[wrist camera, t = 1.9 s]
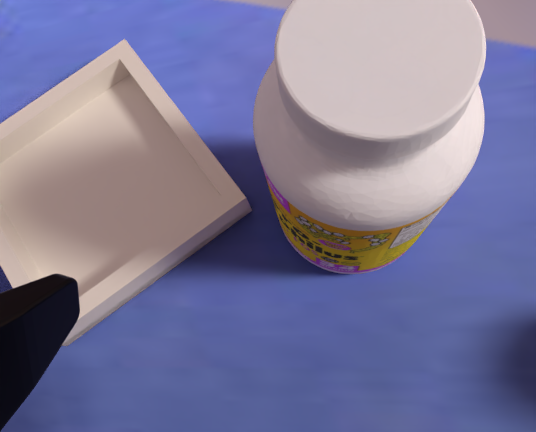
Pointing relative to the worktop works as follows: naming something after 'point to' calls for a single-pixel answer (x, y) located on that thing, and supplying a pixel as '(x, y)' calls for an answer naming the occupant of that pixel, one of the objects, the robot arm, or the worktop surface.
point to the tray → (107, 186)
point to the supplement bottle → (369, 123)
